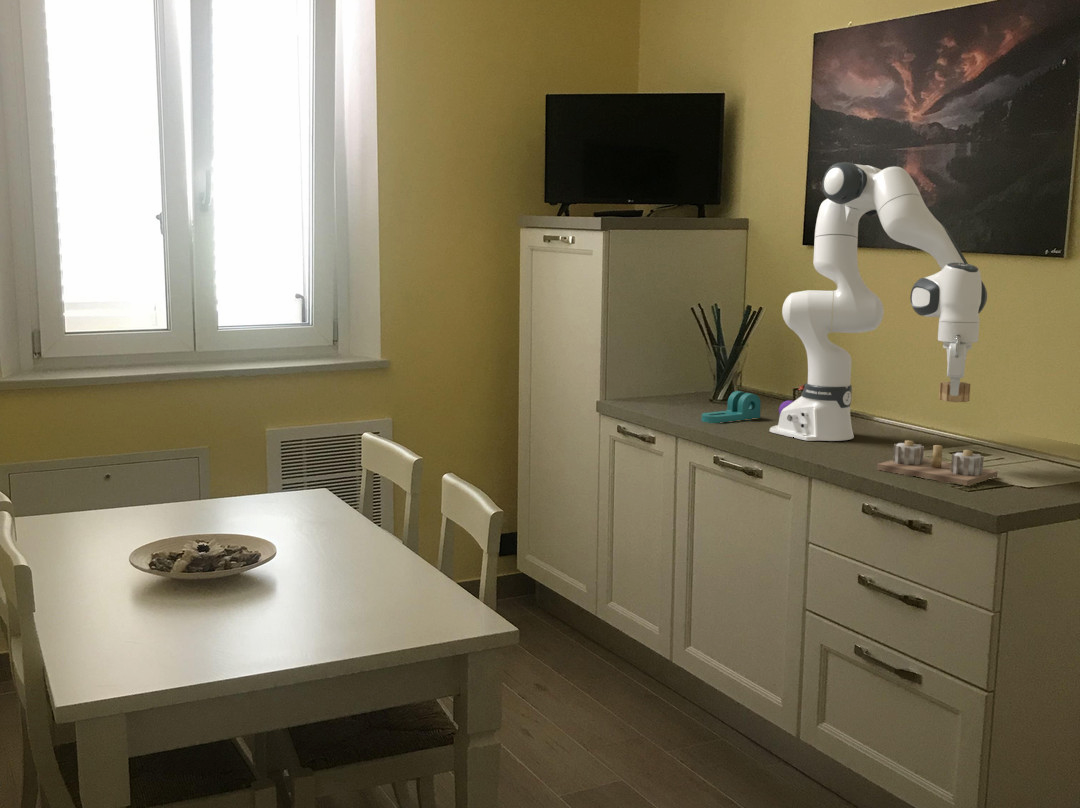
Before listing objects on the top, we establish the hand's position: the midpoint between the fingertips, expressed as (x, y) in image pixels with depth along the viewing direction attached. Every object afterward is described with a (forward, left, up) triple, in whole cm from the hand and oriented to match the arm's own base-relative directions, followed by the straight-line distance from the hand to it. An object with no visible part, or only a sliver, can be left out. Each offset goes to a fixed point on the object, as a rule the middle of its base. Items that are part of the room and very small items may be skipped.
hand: (954, 393), depth 260 cm
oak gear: (0, 0, -2) cm, 2 cm away
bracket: (-74, +10, -18) cm, 76 cm away
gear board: (+2, -9, -18) cm, 20 cm away
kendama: (-60, +31, -18) cm, 70 cm away
